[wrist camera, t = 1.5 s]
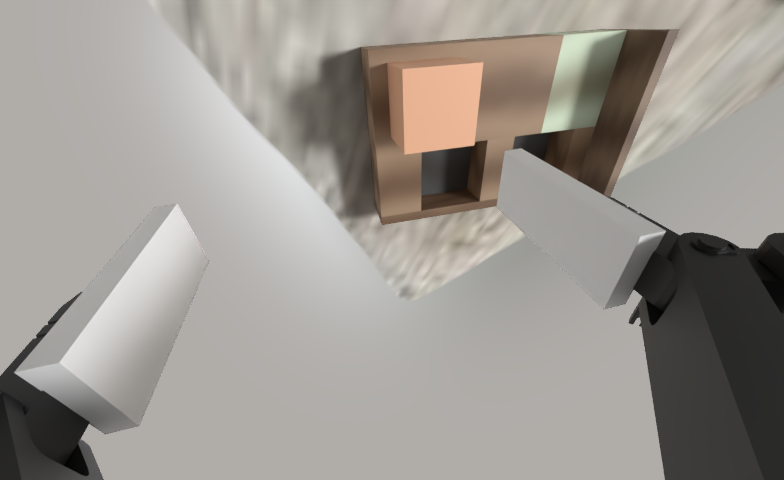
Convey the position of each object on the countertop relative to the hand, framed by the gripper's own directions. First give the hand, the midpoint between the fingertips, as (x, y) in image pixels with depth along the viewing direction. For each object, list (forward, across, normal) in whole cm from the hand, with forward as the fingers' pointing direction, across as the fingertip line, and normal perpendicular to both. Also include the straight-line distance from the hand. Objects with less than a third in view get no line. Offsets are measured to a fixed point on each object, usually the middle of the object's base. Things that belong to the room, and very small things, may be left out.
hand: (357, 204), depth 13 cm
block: (+17, +8, 0) cm, 19 cm away
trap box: (+21, +16, -4) cm, 26 cm away
